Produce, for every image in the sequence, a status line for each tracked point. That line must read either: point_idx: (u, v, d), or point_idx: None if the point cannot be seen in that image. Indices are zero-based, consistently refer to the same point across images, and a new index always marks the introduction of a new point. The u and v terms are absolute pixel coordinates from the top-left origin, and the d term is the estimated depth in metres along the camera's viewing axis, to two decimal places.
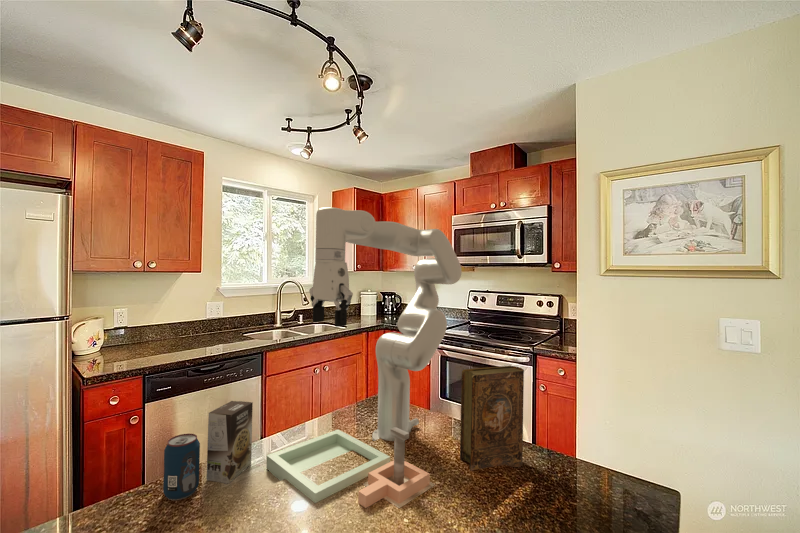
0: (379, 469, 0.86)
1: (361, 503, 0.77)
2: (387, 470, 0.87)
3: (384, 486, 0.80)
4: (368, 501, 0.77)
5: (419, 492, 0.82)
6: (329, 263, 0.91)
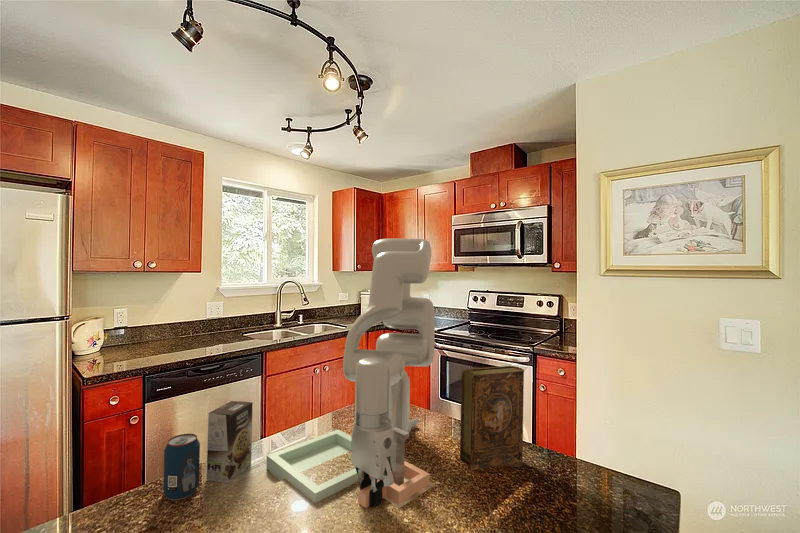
0: None
1: (361, 503, 0.77)
2: None
3: (384, 486, 0.80)
4: (368, 501, 0.77)
5: (419, 492, 0.82)
6: (373, 432, 0.75)
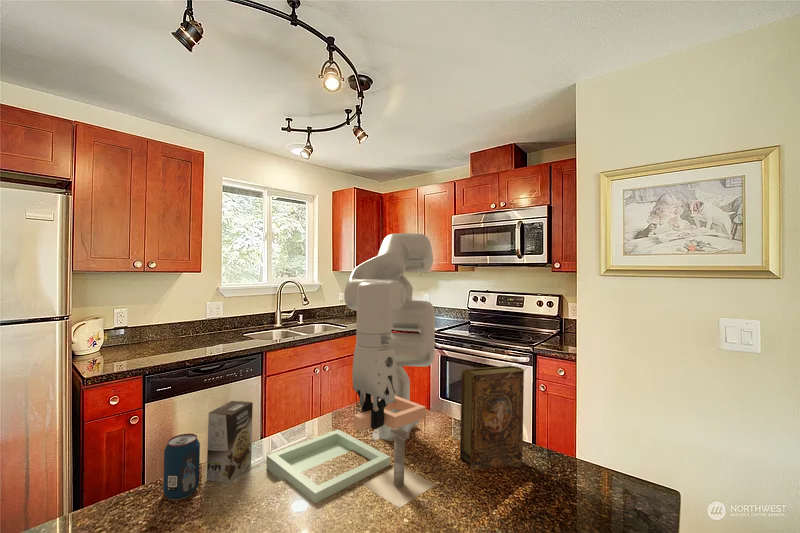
0: None
1: (356, 426, 0.76)
2: None
3: None
4: (363, 424, 0.76)
5: (419, 492, 0.82)
6: (374, 351, 0.76)
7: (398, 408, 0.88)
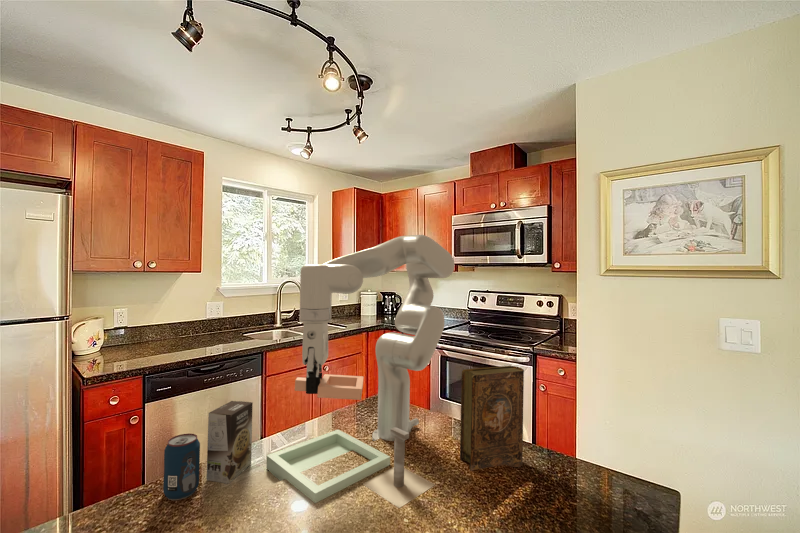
0: (335, 375, 0.94)
1: None
2: (342, 379, 0.93)
3: None
4: (297, 386, 0.88)
5: (419, 492, 0.82)
6: None
7: None
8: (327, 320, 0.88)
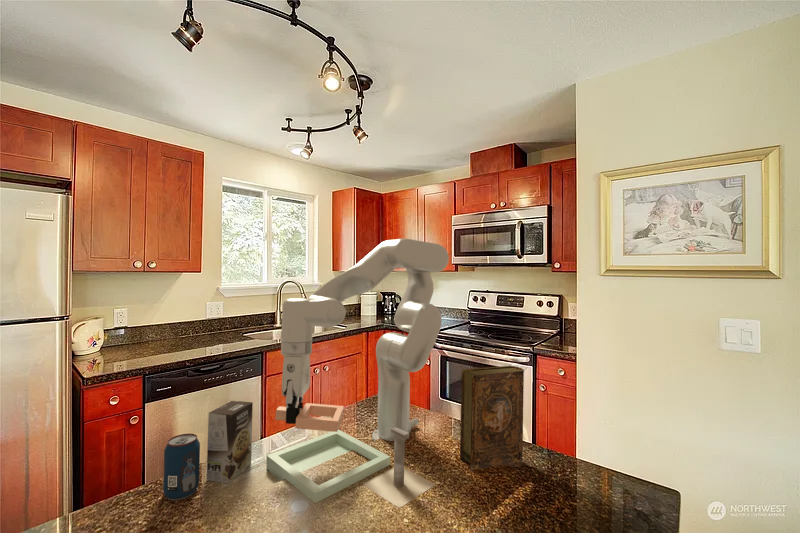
0: (316, 404, 0.97)
1: None
2: (323, 408, 0.97)
3: None
4: (278, 415, 0.92)
5: (419, 492, 0.82)
6: (284, 356, 0.90)
7: None
8: (307, 353, 0.91)
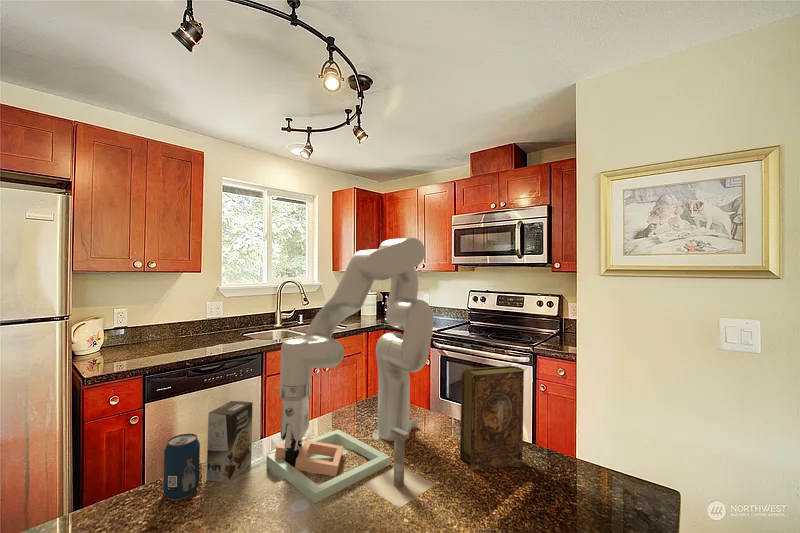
0: (316, 443, 0.97)
1: None
2: (322, 448, 0.97)
3: None
4: (278, 453, 0.92)
5: (419, 492, 0.82)
6: (283, 399, 0.90)
7: None
8: (306, 395, 0.91)
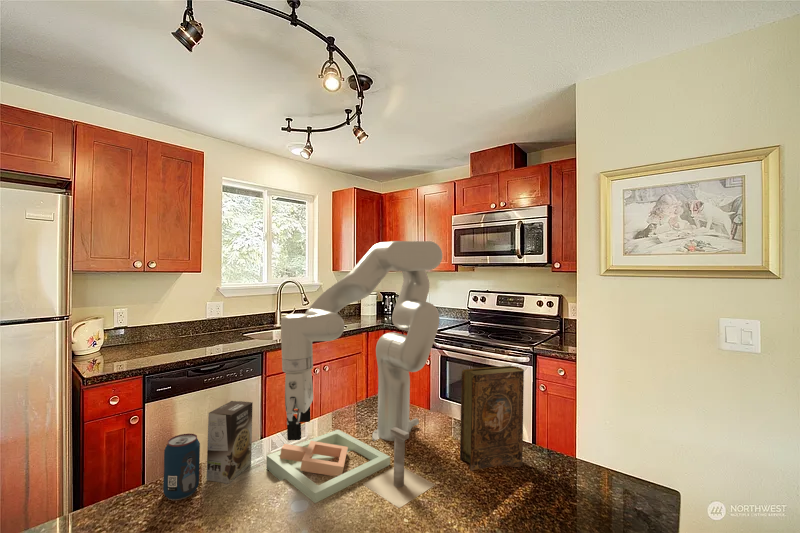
0: (321, 443, 0.97)
1: None
2: (327, 448, 0.97)
3: (302, 452, 0.92)
4: (283, 454, 0.92)
5: (419, 492, 0.82)
6: None
7: None
8: (308, 369, 0.92)
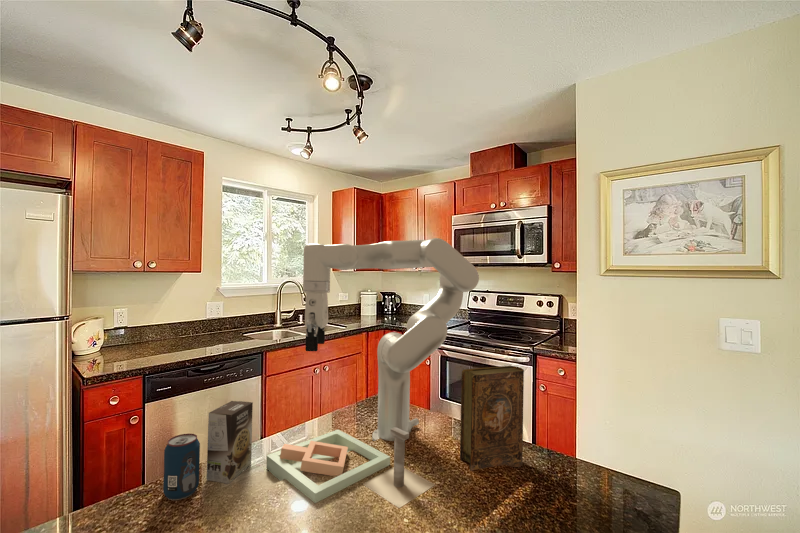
0: (321, 443, 0.97)
1: None
2: (327, 448, 0.97)
3: (302, 452, 0.92)
4: (283, 454, 0.92)
5: (419, 492, 0.82)
6: (306, 293, 1.03)
7: None
8: (326, 291, 1.04)
